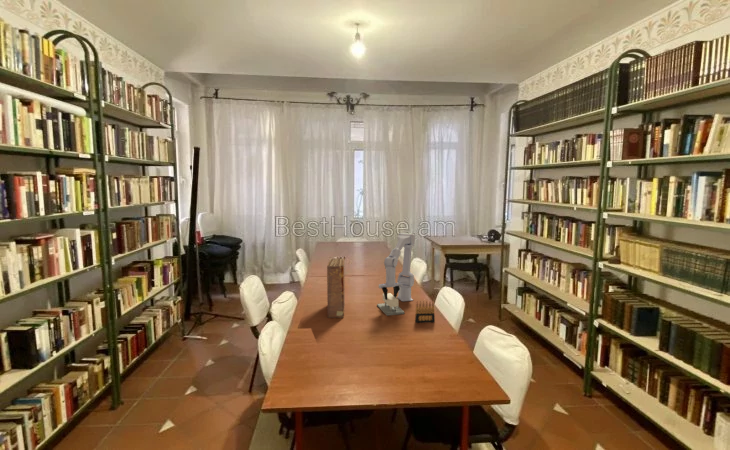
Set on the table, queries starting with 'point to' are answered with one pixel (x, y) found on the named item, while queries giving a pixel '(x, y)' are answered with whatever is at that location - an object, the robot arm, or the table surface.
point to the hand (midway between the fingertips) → (390, 298)
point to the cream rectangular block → (391, 300)
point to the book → (335, 288)
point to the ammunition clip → (424, 313)
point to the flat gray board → (390, 309)
